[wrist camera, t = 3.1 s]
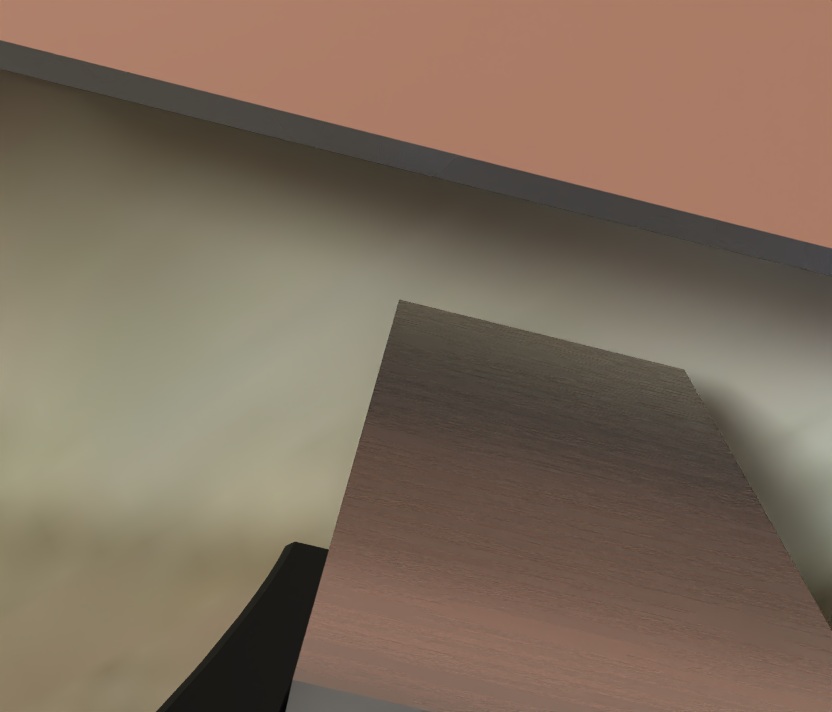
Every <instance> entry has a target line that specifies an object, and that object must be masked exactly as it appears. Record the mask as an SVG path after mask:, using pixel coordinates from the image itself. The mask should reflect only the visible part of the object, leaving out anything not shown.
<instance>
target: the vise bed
mask: <svg viewBox="0 0 832 712" xmlns="http://www.w3.org/2000/svg"><path fill="white" fill-rule="evenodd" d="M0 69H2V70H6V71H10V72H14V73H18V74H22V75H26V76H30V77H34V78H38V79H42V80H46V81H50V82H54V83H58V84H62V85H66V86H70V87H74V88H78V89H82V90H86V91H90V92H94V93H98V94H102V95H106V96H110V97H114V98H119V99H123V100H127V101H131V102H135V103H139V104H143V105H147V106H151V107H155V108H159V109H163V110H167V111H171V112H175V113H179V114H183V115H187V116H191V117H195V118H199V119H203V120H207V121H211V122H215V123H219V124H223V125H227V126H231V127H235V128H239V129H243V130H247V131H251V132H255V133H259V134H263V135H267V136H271V137H275V138H279V139H283V140H287V141H291V142H295V143H299V144H303V145H307V146H311V147H315V148H319V149H323V150H327V151H331V152H335V153H339V154H343V155H347V156H351V157H355V158H359V159H363V160H367V161H371V162H375V163H379V164H383V165H387V166H391V167H395V168H399V169H403V170H408V171H412V172H416V173H420V174H424V175H428V176H432V177H436V178H440V179H444V180H448V181H452V182H456V183H460V184H464V185H468V186H472V187H476V188H480V189H484V190H488V191H492V192H496V193H500V194H504V195H508V196H512V197H516V198H520V199H524V200H528V201H532V202H536V203H540V204H544V205H548V206H552V207H556V208H560V209H564V210H568V211H572V212H576V213H580V214H584V215H588V216H592V217H596V218H600V219H604V220H608V221H612V222H616V223H620V224H624V225H628V226H632V227H636V228H640V229H644V230H648V231H652V232H656V233H660V234H664V235H668V236H672V237H676V238H680V239H684V240H688V241H692V242H697V243H701V244H705V245H709V246H713V247H717V248H721V249H725V250H729V251H733V252H737V253H741V254H745V255H749V256H753V257H757V258H761V259H765V260H769V261H773V262H777V263H781V264H785V265H789V266H793V267H797V268H801V269H805V270H809V271H813V272H817V273H821V274H825V275H829V276H832V248H828V247H824V246H820V245H816V244H812V243H808V242H804V241H800V240H796V239H792V238H788V237H784V236H780V235H776V234H772V233H768V232H764V231H760V230H756V229H752V228H748V227H744V226H740V225H736V224H732V223H728V222H724V221H720V220H716V219H712V218H708V217H704V216H700V215H696V214H692V213H688V212H684V211H680V210H677V209H673V208H669V207H665V206H661V205H657V204H653V203H649V202H645V201H641V200H637V199H633V198H629V197H625V196H621V195H617V194H613V193H609V192H605V191H601V190H597V189H593V188H589V187H585V186H581V185H577V184H573V183H569V182H565V181H561V180H557V179H553V178H549V177H545V176H541V175H537V174H533V173H529V172H525V171H521V170H517V169H513V168H509V167H505V166H501V165H497V164H493V163H489V162H485V161H481V160H477V159H473V158H469V157H465V156H461V155H457V154H453V153H449V152H445V151H441V150H437V149H433V148H429V147H425V146H421V145H417V144H413V143H409V142H405V141H401V140H397V139H393V138H389V137H385V136H381V135H377V134H373V133H369V132H365V131H361V130H357V129H353V128H349V127H345V126H341V125H337V124H333V123H329V122H325V121H321V120H317V119H313V118H309V117H305V116H301V115H297V114H293V113H289V112H285V111H281V110H277V109H273V108H269V107H265V106H261V105H257V104H253V103H249V102H245V101H241V100H237V99H233V98H229V97H225V96H221V95H217V94H213V93H209V92H205V91H201V90H197V89H193V88H189V87H185V86H181V85H177V84H173V83H169V82H165V81H161V80H157V79H153V78H149V77H145V76H141V75H137V74H133V73H130V72H126V71H122V70H118V69H114V68H110V67H106V66H102V65H98V64H94V63H90V62H86V61H82V60H78V59H74V58H70V57H66V56H62V55H58V54H54V53H50V52H46V51H42V50H38V49H34V48H30V47H26V46H22V45H18V44H14V43H10V42H6V41H2V40H0Z"/></svg>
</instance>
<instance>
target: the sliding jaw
mask: <svg viewBox="0 0 832 712" xmlns="http://www.w3.org/2000/svg"><path fill="white" fill-rule="evenodd" d="M0 40H2V41H6V42H10V43H14V44H18V45H22V46H26V47H30V48H34V49H38V50H42V51H46V52H50V53H54V54H58V55H62V56H66V57H70V58H74V59H78V60H82V61H86V62H90V63H94V64H98V65H102V66H106V67H110V68H114V69H118V70H122V71H126V72H130V73H133V74H137V75H141V76H145V77H149V78H153V79H157V80H161V81H165V82H169V83H173V84H177V85H181V86H185V87H189V88H193V89H197V90H201V91H205V92H209V93H213V94H217V95H221V96H225V97H229V98H233V99H237V100H241V101H245V102H249V103H253V104H257V105H261V106H265V107H269V108H273V109H277V110H281V111H285V112H289V113H293V114H297V115H301V116H305V117H309V118H313V119H317V120H321V121H325V122H329V123H333V124H337V125H341V126H345V127H349V128H353V129H357V130H361V131H365V132H369V133H373V134H377V135H381V136H385V137H389V138H393V139H397V140H401V141H405V142H409V143H413V144H417V145H421V146H425V147H429V148H433V149H437V150H441V151H445V152H449V153H453V154H457V155H461V156H465V157H469V158H473V159H477V160H481V161H485V162H489V163H493V164H497V165H501V166H505V167H509V168H513V169H517V170H521V171H525V172H529V173H533V174H537V175H541V176H545V177H549V178H553V179H557V180H561V181H565V182H569V183H573V184H577V185H581V186H585V187H589V188H593V189H597V190H601V191H605V192H609V193H613V194H617V195H621V196H625V197H629V198H633V199H637V200H641V201H645V202H649V203H653V204H657V205H661V206H665V207H669V208H673V209H677V210H680V211H684V212H688V213H692V214H696V215H700V216H704V217H708V218H712V219H716V220H720V221H724V222H728V223H732V224H736V225H740V226H744V227H748V228H752V229H756V230H760V231H764V232H768V233H772V234H776V235H780V236H784V237H788V238H792V239H796V240H800V241H804V242H808V243H812V244H816V245H820V246H824V247H828V248H832V0H0Z"/></svg>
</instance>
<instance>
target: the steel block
mask: <svg viewBox="0 0 832 712" xmlns="http://www.w3.org/2000/svg"><path fill="white" fill-rule="evenodd" d="M286 712H832V630H831V628H830V627H829V625H828V623H827V621H826V620H825V618H824V616H823V614H822V612H821V611H820V609H819V607H818V605H817V604H816V602H815V600H814V598H813V597H812V595H811V593H810V591H809V589H808V588H807V586H806V584H805V582H804V581H803V579H802V577H801V575H800V574H799V572H798V570H797V568H796V566H795V565H794V563H793V561H792V559H791V558H790V556H789V554H788V552H787V551H786V549H785V547H784V545H783V543H782V542H781V540H780V538H779V536H778V535H777V533H776V531H775V529H774V528H773V526H772V524H771V522H770V520H769V519H768V517H767V515H766V513H765V512H764V510H763V508H762V506H761V505H760V503H759V501H758V499H757V497H756V496H755V494H754V492H753V490H752V489H751V487H750V485H749V483H748V482H747V480H746V478H745V476H744V474H743V473H742V471H741V469H740V467H739V466H738V464H737V462H736V460H735V459H734V457H733V455H732V453H731V451H730V450H729V448H728V446H727V444H726V443H725V441H724V439H723V437H722V436H721V434H720V432H719V430H718V428H717V427H716V425H715V423H714V421H713V420H712V418H711V416H710V414H709V413H708V411H707V409H706V407H705V405H704V404H703V402H702V400H701V398H700V397H699V395H698V393H697V391H696V389H695V388H694V386H693V384H692V382H691V381H690V379H689V377H688V375H687V374H686V372H685V370H684V369H679V368H675V367H671V366H667V365H663V364H659V363H655V362H651V361H647V360H643V359H639V358H635V357H631V356H627V355H623V354H619V353H614V352H610V351H606V350H602V349H598V348H594V347H590V346H586V345H582V344H578V343H574V342H570V341H566V340H562V339H558V338H554V337H549V336H545V335H541V334H537V333H533V332H529V331H525V330H521V329H517V328H513V327H509V326H505V325H501V324H497V323H493V322H489V321H484V320H480V319H476V318H472V317H468V316H464V315H460V314H456V313H452V312H448V311H444V310H440V309H436V308H432V307H428V306H424V305H419V304H415V303H411V302H407V301H403V300H399V302H398V306H397V309H396V313H395V316H394V320H393V323H392V327H391V331H390V334H389V338H388V341H387V345H386V348H385V352H384V356H383V359H382V363H381V366H380V370H379V373H378V377H377V381H376V384H375V388H374V391H373V395H372V398H371V402H370V405H369V409H368V413H367V416H366V420H365V423H364V427H363V430H362V434H361V438H360V441H359V445H358V448H357V452H356V455H355V459H354V463H353V466H352V470H351V473H350V477H349V480H348V484H347V487H346V491H345V495H344V498H343V502H342V505H341V509H340V512H339V516H338V520H337V523H336V527H335V530H334V534H333V537H332V541H331V545H330V548H329V552H328V555H327V559H326V562H325V566H324V569H323V573H322V577H321V580H320V584H319V587H318V591H317V594H316V598H315V602H314V605H313V609H312V612H311V616H310V619H309V623H308V626H307V630H306V634H305V637H304V641H303V644H302V648H301V651H300V655H299V659H298V662H297V666H296V669H295V673H294V676H293V680H292V685H291V689H290V694H289V698H288V703H287V707H286Z"/></svg>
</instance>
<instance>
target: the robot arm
mask: <svg viewBox="0 0 832 712" xmlns="http://www.w3.org/2000/svg"><path fill="white" fill-rule="evenodd" d="M328 552H329V550H328V549H324V548H320V547H316V546H311V545H307V544H303V543H298V542H293V543H291V544H289V545H287V546H285V548H284V550H283V552H282V554H281V555H280V557H279V559H278V561H277V562H276V564H275V566H274V567H273V569H272V570H271V572H270V573H269V575H268V577H267V578H266V580H265V581H264V582H263V584H262V585H261V587H260V588H259V590H258V591H257V592H256V594H255V595H254V597H253V598H252V599H251V601H250V602H249V603H248V605H247V606H246V607H245V609H244V610H243V611H242V613H241V614H240V615H239V617H238V618H237V619H236V620H235V622H234V623H233V624H232V625H231V626H230V628H229V629H228V630H227V631H226V633H225V634H224V635H223V636H222V637H221V639H220V640H219V641H218V642H217V644H216V645H215V646H214V647H213V648H212V650H211V651H210V652H209V653H208V655H207V656H206V657H205V658H204V659H203V661H202V662H201V663H200V664H199V665H198V666H197V668H196V669H195V670H194V671H193V672H192V673H191V674H190V676H189V677H188V678H187V679H186V680H185V681H184V682H183V683H182V684H181V685H180V686H179V687H178V689H177V690H176V691H175V692H174V693H173V694H172V695H171V696H170V697H169V698H168V699H167V701H166V702H165V703H164V704H163V705H162V706H161V707H160V708H159V709H158V710H157V711H156V712H286V707H287V703H288V698H289V694H290V689H291V685H292V680H293V676H294V673H295V669H296V666H297V662H298V659H299V655H300V651H301V648H302V644H303V641H304V637H305V634H306V630H307V626H308V623H309V619H310V616H311V612H312V609H313V605H314V602H315V598H316V594H317V591H318V587H319V584H320V580H321V577H322V573H323V569H324V566H325V562H326V559H327V555H328Z"/></svg>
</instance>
